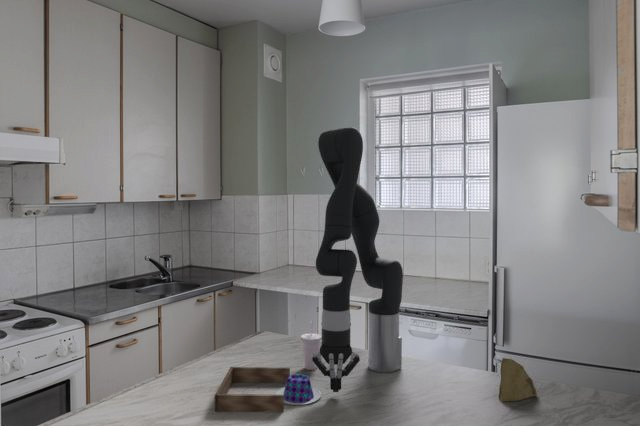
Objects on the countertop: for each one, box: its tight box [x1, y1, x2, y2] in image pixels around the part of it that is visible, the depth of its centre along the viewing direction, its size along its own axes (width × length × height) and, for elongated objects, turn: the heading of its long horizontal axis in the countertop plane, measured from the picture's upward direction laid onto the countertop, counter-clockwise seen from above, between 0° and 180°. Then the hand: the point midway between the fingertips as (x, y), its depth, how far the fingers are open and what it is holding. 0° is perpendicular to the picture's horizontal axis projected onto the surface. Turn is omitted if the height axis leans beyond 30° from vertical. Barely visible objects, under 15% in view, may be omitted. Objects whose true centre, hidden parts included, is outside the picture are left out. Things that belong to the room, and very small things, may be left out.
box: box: [214, 366, 291, 413], centre depth 125 cm, size 17×19×4 cm
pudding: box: [274, 373, 322, 406], centre depth 125 cm, size 12×12×5 cm
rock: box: [498, 357, 538, 403], centre depth 124 cm, size 11×9×10 cm
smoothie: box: [300, 321, 322, 371], centre depth 145 cm, size 6×6×14 cm
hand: (335, 390), depth 125 cm, fingers closed
